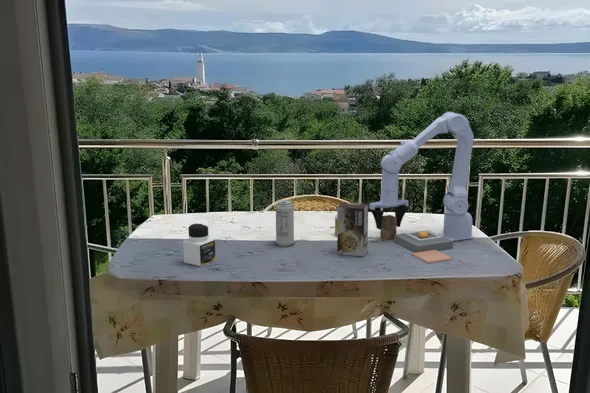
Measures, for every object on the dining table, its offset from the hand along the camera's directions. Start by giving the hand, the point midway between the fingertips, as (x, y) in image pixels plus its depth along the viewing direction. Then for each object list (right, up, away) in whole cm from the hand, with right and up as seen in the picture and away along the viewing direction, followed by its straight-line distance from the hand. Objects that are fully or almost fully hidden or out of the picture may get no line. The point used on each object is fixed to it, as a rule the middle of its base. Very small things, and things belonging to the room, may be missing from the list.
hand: (388, 227), depth 200 cm
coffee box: (-14, -8, -14) cm, 21 cm away
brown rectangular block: (0, -4, +1) cm, 4 cm away
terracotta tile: (+11, -9, -19) cm, 23 cm away
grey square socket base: (+11, -6, -6) cm, 14 cm away
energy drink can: (-36, -6, -5) cm, 37 cm away
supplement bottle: (-16, -3, +5) cm, 17 cm away
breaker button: (+11, -4, -7) cm, 13 cm away
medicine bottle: (-63, -10, -22) cm, 67 cm away
